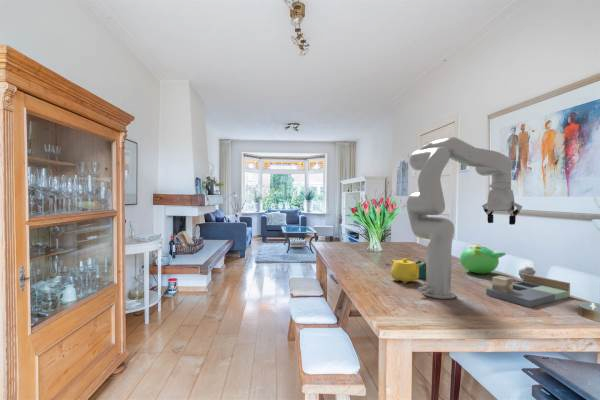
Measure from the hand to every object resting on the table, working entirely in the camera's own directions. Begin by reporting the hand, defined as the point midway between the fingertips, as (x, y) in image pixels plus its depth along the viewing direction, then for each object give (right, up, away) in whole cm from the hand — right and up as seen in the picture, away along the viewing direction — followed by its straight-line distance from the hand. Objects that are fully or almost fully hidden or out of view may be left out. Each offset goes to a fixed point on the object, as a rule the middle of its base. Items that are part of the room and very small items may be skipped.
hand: (501, 223), depth 142 cm
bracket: (-27, -28, +15) cm, 42 cm away
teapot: (-43, -28, +4) cm, 51 cm away
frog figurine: (+15, -28, +4) cm, 32 cm away
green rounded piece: (+2, -28, +20) cm, 34 cm away
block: (-12, -25, -19) cm, 34 cm away
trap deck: (-1, -28, -18) cm, 33 cm away
